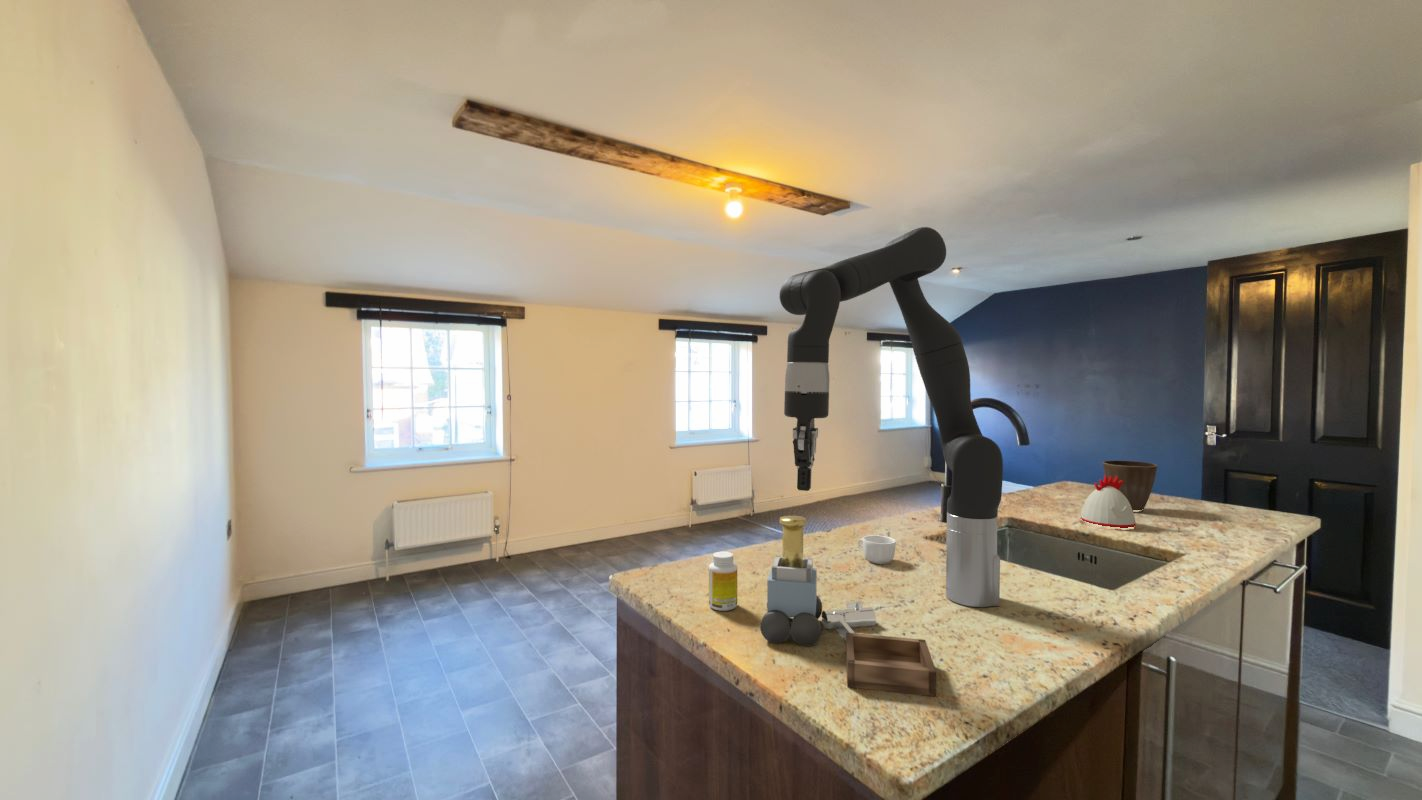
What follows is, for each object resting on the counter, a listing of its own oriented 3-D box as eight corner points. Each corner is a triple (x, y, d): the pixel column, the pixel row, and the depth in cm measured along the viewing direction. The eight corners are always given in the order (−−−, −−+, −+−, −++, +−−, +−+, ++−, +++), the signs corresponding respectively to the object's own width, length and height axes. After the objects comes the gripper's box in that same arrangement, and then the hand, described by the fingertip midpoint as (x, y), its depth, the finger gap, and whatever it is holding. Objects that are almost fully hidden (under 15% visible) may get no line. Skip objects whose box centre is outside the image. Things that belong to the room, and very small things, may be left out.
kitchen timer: (1147, 530, 167) (1148, 479, 166) (1099, 530, 167) (1100, 479, 166) (1114, 519, 181) (1115, 472, 180) (1070, 519, 181) (1071, 472, 180)
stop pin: (806, 570, 101) (806, 516, 101) (805, 579, 97) (805, 522, 96) (780, 568, 102) (780, 515, 102) (778, 577, 98) (778, 521, 97)
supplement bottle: (742, 609, 109) (742, 556, 109) (716, 614, 107) (716, 560, 107) (729, 598, 114) (729, 548, 114) (704, 603, 112) (704, 552, 112)
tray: (924, 661, 89) (925, 639, 88) (936, 696, 79) (936, 671, 79) (845, 654, 91) (846, 632, 91) (847, 686, 81) (847, 662, 81)
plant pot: (1115, 514, 187) (1117, 466, 186) (1093, 504, 202) (1094, 459, 201) (1166, 516, 184) (1167, 467, 184) (1140, 506, 199) (1141, 460, 199)
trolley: (822, 619, 104) (822, 555, 104) (820, 647, 93) (821, 575, 93) (767, 615, 106) (767, 551, 106) (760, 641, 95) (760, 571, 95)
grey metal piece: (868, 620, 104) (821, 624, 103) (868, 597, 104) (821, 600, 103) (893, 648, 95) (842, 653, 93) (894, 622, 94) (843, 626, 93)
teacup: (902, 562, 138) (902, 540, 138) (883, 568, 133) (883, 545, 133) (867, 552, 146) (867, 531, 145) (848, 558, 141) (848, 536, 141)
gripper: (790, 388, 105) (788, 482, 105) (778, 389, 92) (775, 495, 93) (832, 389, 103) (829, 485, 103) (825, 390, 90) (822, 499, 91)
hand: (803, 489), depth 98 cm, fingers closed
